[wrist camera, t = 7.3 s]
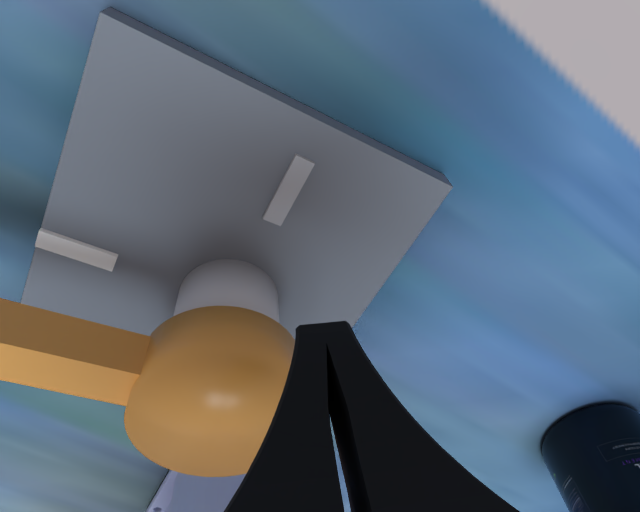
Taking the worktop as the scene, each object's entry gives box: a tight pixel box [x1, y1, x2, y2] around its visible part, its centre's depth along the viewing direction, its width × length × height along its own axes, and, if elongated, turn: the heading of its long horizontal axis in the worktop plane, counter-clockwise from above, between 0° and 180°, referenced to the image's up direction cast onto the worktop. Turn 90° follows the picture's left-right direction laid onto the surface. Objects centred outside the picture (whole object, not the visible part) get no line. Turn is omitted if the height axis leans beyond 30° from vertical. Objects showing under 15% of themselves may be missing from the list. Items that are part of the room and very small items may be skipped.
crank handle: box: [0, 298, 295, 477], centre depth 17 cm, size 14×6×3 cm, turn 65°
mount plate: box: [20, 7, 453, 339], centre depth 20 cm, size 15×14×5 cm
